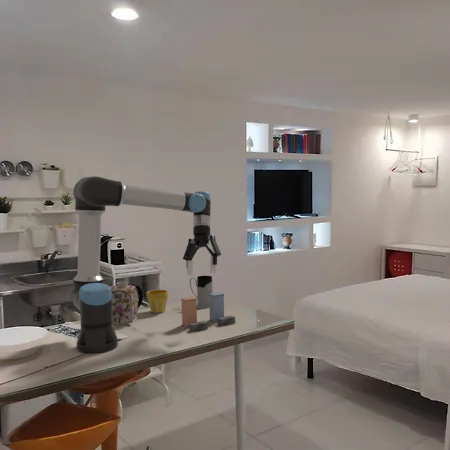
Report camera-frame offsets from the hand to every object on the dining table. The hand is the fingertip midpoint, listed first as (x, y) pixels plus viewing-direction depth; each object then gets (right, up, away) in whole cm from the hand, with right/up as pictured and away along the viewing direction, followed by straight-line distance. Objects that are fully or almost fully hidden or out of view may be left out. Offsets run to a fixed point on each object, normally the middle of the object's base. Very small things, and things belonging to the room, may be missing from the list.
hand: (201, 274), depth 205 cm
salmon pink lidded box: (-5, -21, -3) cm, 22 cm away
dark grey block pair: (+2, -23, -1) cm, 23 cm away
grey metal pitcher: (-2, -20, +37) cm, 42 cm away
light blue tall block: (+7, -21, +5) cm, 22 cm away
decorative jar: (-36, -23, +9) cm, 43 cm away
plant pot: (-22, -21, +27) cm, 41 cm away
